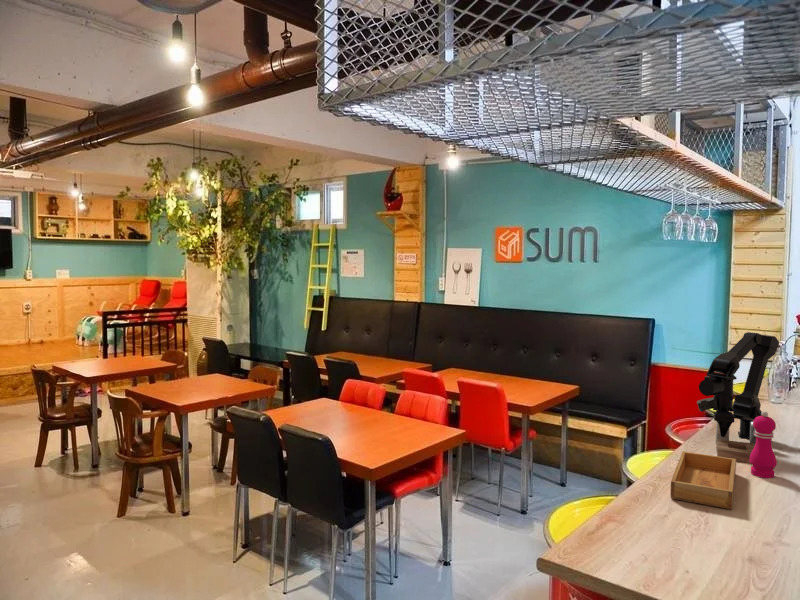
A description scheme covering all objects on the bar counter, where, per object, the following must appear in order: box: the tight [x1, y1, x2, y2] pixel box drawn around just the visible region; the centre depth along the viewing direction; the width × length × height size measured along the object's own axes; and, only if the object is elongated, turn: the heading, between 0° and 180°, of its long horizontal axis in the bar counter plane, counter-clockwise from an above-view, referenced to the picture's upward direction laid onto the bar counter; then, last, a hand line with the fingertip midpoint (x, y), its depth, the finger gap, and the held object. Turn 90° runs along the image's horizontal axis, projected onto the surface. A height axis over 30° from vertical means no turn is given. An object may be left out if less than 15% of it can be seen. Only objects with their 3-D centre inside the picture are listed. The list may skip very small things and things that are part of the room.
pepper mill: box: [749, 410, 778, 479], centre depth 182 cm, size 7×7×20 cm
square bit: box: [715, 421, 730, 445], centre depth 212 cm, size 4×4×9 cm
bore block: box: [716, 439, 755, 463], centre depth 200 cm, size 12×12×3 cm
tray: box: [670, 451, 737, 510], centre depth 174 cm, size 31×15×6 cm, turn 149°
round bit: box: [749, 421, 756, 444], centre depth 208 cm, size 4×4×9 cm
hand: (722, 435), depth 213 cm, fingers closed on square bit, 4 cm apart
